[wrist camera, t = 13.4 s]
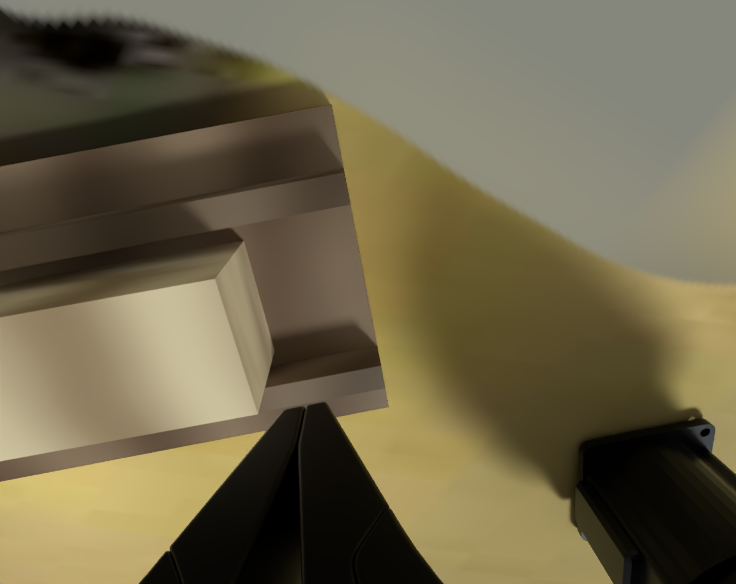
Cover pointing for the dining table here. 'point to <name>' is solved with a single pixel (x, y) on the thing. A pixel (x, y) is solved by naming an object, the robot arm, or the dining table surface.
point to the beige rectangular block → (130, 350)
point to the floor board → (206, 229)
